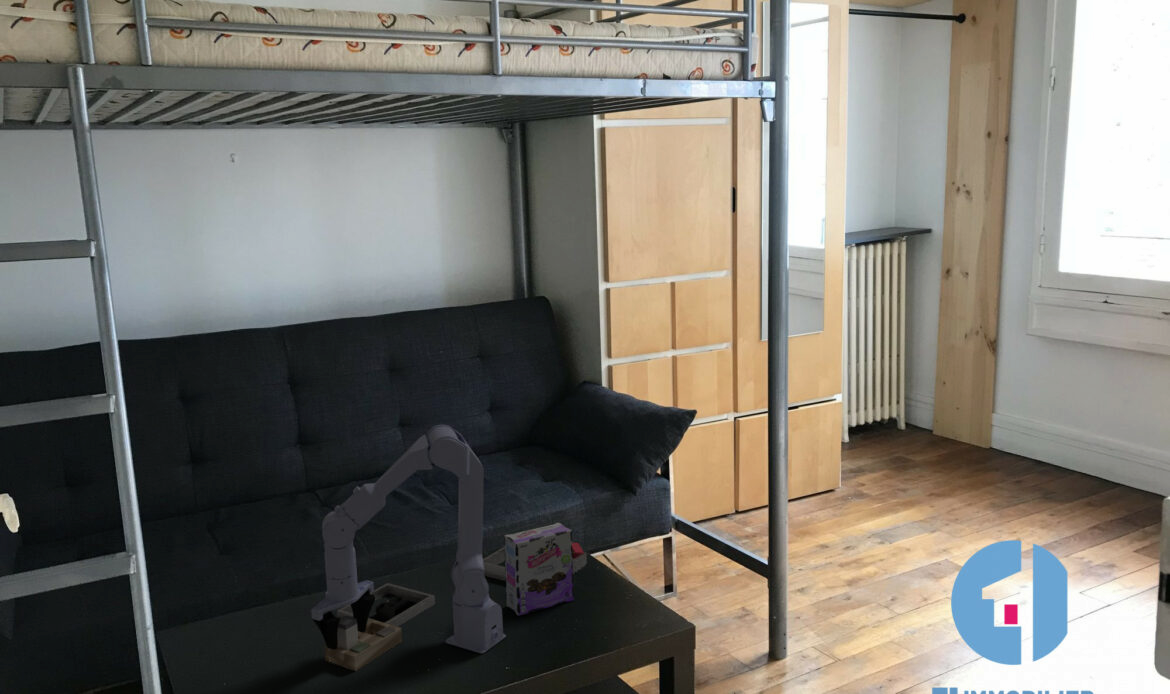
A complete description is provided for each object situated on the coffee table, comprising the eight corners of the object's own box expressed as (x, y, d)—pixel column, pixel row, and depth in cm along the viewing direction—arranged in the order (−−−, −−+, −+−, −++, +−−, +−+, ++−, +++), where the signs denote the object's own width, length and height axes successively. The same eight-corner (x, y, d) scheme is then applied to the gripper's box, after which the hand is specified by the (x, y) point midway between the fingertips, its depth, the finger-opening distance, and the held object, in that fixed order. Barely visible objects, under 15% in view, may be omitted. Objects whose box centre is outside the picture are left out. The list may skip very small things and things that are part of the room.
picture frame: (434, 604, 208) (434, 595, 208) (385, 634, 195) (384, 625, 194) (388, 591, 215) (387, 582, 214) (337, 619, 202) (336, 610, 201)
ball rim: (586, 564, 226) (586, 552, 226) (548, 591, 213) (547, 579, 212) (519, 549, 237) (518, 538, 236) (478, 574, 223) (477, 562, 222)
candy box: (518, 617, 201) (515, 543, 198) (505, 606, 206) (502, 534, 203) (574, 600, 208) (572, 529, 205) (561, 591, 213) (559, 521, 210)
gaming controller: (393, 624, 198) (377, 601, 199) (381, 637, 200) (365, 613, 202) (424, 606, 206) (408, 583, 207) (412, 618, 208) (396, 596, 210)
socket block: (402, 641, 192) (401, 626, 191) (355, 671, 181) (354, 655, 180) (372, 632, 196) (371, 617, 195) (325, 661, 185) (324, 645, 184)
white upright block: (359, 656, 186) (356, 618, 185) (348, 663, 184) (345, 625, 182) (348, 653, 188) (345, 615, 186) (337, 659, 185) (334, 621, 184)
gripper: (353, 556, 191) (358, 619, 193) (297, 583, 178) (303, 650, 181) (379, 562, 187) (384, 627, 190) (324, 591, 175) (330, 659, 177)
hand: (346, 639), depth 185 cm, fingers open, 7 cm apart
